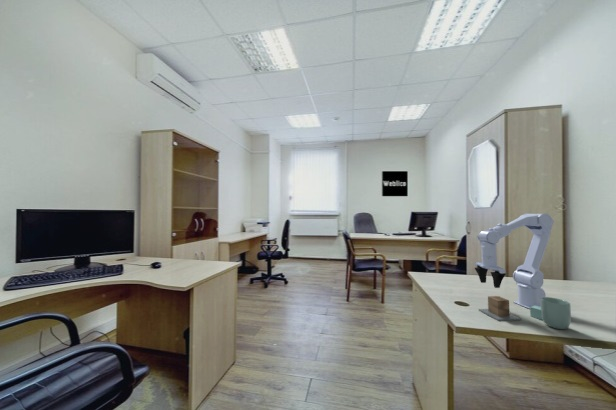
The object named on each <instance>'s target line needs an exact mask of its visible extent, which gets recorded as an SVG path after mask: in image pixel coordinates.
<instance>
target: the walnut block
mask: <svg viewBox="0 0 616 410" xmlns="http://www.w3.org/2000/svg"><path fill="white" fill-rule="evenodd" d="M487 309H488V311H489V312H491V313H493V314H495V315H497V316H510V314H511V313H510V300H509V299H507V298H504V297H502V296H499V295H494V296H492V295H491V296H489V295H488V296H487Z"/></svg>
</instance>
